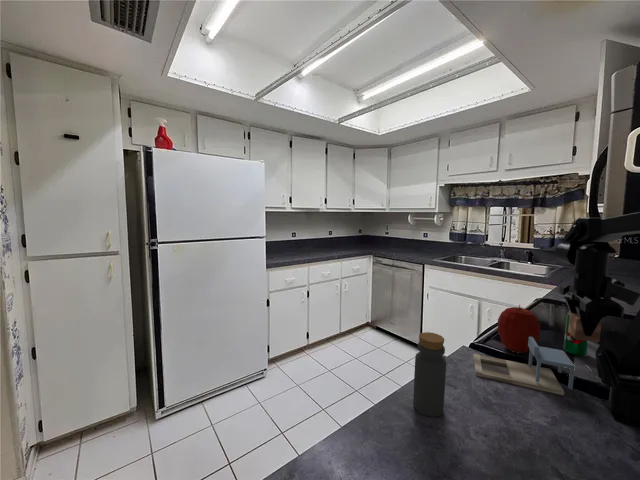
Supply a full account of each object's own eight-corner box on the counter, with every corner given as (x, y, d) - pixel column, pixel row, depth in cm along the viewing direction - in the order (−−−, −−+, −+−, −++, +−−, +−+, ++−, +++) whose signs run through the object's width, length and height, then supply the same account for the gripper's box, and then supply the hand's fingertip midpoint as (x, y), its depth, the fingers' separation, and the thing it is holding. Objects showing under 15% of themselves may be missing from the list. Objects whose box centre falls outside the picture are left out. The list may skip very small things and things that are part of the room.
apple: (536, 364, 74) (540, 313, 73) (492, 351, 81) (496, 304, 80) (539, 350, 82) (544, 304, 81) (499, 339, 89) (502, 296, 87)
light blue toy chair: (572, 389, 62) (576, 355, 61) (532, 381, 65) (535, 348, 64) (560, 371, 69) (563, 340, 68) (525, 364, 72) (528, 335, 71)
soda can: (591, 358, 78) (596, 316, 77) (570, 356, 79) (574, 314, 78) (578, 349, 83) (583, 310, 81) (559, 347, 84) (563, 308, 82)
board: (563, 396, 62) (564, 391, 61) (475, 375, 69) (475, 372, 69) (550, 372, 70) (550, 368, 70) (473, 357, 78) (473, 353, 78)
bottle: (407, 401, 59) (410, 333, 58) (429, 395, 61) (432, 329, 60) (426, 420, 54) (430, 345, 52) (450, 413, 56) (454, 341, 54)
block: (599, 342, 66) (601, 322, 66) (574, 338, 68) (576, 318, 68) (591, 335, 70) (593, 315, 70) (567, 331, 72) (569, 312, 72)
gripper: (663, 281, 56) (653, 356, 57) (615, 266, 73) (609, 324, 74) (590, 275, 61) (582, 345, 62) (561, 262, 77) (555, 317, 79)
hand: (583, 331), depth 69 cm, fingers closed on block, 4 cm apart
